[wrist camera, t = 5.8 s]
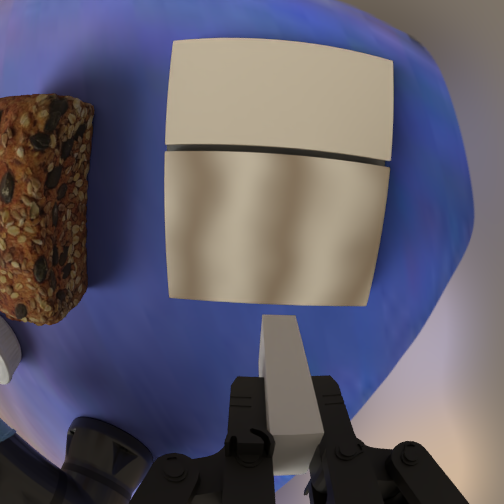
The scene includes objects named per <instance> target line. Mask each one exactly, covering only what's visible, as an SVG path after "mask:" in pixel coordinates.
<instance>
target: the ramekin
mask: <svg viewBox="0 0 504 504" xmlns="http://www.w3.org/2000/svg"><path fill="white" fill-rule="evenodd" d="M20 361H21V348H20V344H19V342H18V339H17V337H16V335H15V334H14V332H13V330H12V329H11V327H10V326H9V325H8V323H7V322H6V321H5V320H4V319H3V318H2V317H1V316H0V384H8V383H9V382H10V381H11V379H12V375H13V374H14V372H15V370H16V368H17V367H18V365H19V363H20Z"/></svg>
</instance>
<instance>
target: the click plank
mask: <svg viewBox="0 0 504 504" xmlns="http://www.w3.org/2000/svg"><path fill="white" fill-rule="evenodd" d="M389 174H390V168H389V167H383V166H377V165H371V164H365V163H358V162H351V161H343V160H335V159H327V158H318V157H308V156H297V155H285V154H271V153H254V152H228V151H165V176H164V193H165V236H166V258H167V274H168V288H169V298H179V299H192V300H205V301H220V302H236V303H256V304H279V305H313V306H366V305H367V301H368V297H369V293H370V289H371V284H372V280H373V275H374V270H375V266H376V261H377V255H378V250H379V245H380V239H381V233H382V227H383V221H384V214H385V207H386V200H387V192H388V183H389Z"/></svg>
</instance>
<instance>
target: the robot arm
mask: <svg viewBox="0 0 504 504" xmlns="http://www.w3.org/2000/svg"><path fill="white" fill-rule="evenodd" d="M224 444H225V445H224V447H223V448H222V449H221V450H220V451H219V452H218V453H216V454H214V455H211V456H208V457H202V458H196V459H191V458H189V457H187V456H186V455H183V454H178V453H171V454H165V455H163V456H161V457H159V458H158V459H157V460H156V461H155V462H154V463H153V464H152V462H153V457H152V454H151V453H150V451H149V450H148V449H147V448H146V447H145V446H144V445H143V444H142V443H141V442H139V441H138V440H137V439H135V438H134V437H132V436H131V435H129V434H127V433H126V432H124V431H122V430H120V429H118V428H116V427H114V426H112V425H110V424H107V423H105V422H102V421H99V420H96V419H92V418H85V417H80V418H76V419H74V420H73V422H72V424H71V425H70V427H69V429H68V434H67V443H66V455H65V461H64V464H63V466H62V468H61V469H60V468H58V467H57V466H56V465H54V464H53V463H52V462H50V461H49V460H48V459H46V458H45V457H44V456H42V455H41V454H40V453H39V452H37V451H36V450H35V449H34V448H33V447H31V446H30V445H29V444H28V443H27V442H26V441H24V440H23V439H22V438H21V437H20V436H19V435H18V434H17V433H16V431H15V430H14V429H11V428H10V427H9V426H8V425H7V424H6V423H5V422H4V421H3V420H2V419H1V418H0V504H275V489H274V475H297V474H306V473H307V471H308V469H310V476H311V479H310V481H309V483H308V485H307V486H306V488H305V490H304V495H307V494H308V492H309V498H310V504H469V503H468V501H467V500H466V499H465V498H464V496H463V495H462V494H461V493H460V491H459V490H458V489H457V488H456V486H455V485H454V484H453V483H452V481H451V480H450V479H449V478H448V476H447V475H446V474H445V473H444V471H443V470H442V469H441V468H440V467H439V465H438V464H437V463H436V461H435V460H434V459H433V458H432V456H431V455H430V454H429V453H428V451H427V450H426V449H425V448H424V447H423V446H422V445H421V444H419V443H416V442H414V441H405V442H402V443H400V444H398V445H397V446H395V448H394V449H393V450H392V449H380V448H373V447H369V446H366V445H365V444H364V443H363V442H362V441H361V440H359V439H358V438H356V436H355V434H354V431H353V428H352V425H351V422H350V419H349V415H348V412H347V409H346V406H345V404H344V400H343V397H342V396H341V391H340V388H339V385H338V384H337V382H336V381H335V380H334V379H333V378H332V377H331V376H330V375H329V376H311V375H310V371H309V367H308V363H307V359H306V355H305V351H304V347H303V343H302V339H301V335H300V331H299V328H298V324H297V320H296V316H295V315H262V325H261V338H260V350H259V377H241V376H237V378H236V379H235V381H234V382H233V383H232V385H231V393H230V407H229V420H228V433H227V436H226V439H225V442H224ZM142 480H143V481H142ZM140 483H141V484H140ZM139 484H140V486H139V487H138V485H139ZM137 487H138V489H137V490H136V492H135V494H134V495H133V497H132V499H131V496H132V493H133V491H134V490H135V489H136V488H137ZM130 499H131V500H130Z"/></svg>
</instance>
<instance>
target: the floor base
mask: <svg viewBox="0 0 504 504" xmlns="http://www.w3.org/2000/svg"><path fill="white" fill-rule="evenodd" d="M393 102H394V85H393V61H391V60H388V59H384V58H380V57H377V56H373V55H369V54H365V53H360V52H356V51H351V50H346V49H341V48H336V47H331V46H325V45H318V44H311V43H304V42H295V41H286V40H274V39H256V38H207V39H190V40H178V41H173V47H172V56H171V65H170V75H169V86H168V99H167V114H166V134H165V144H166V145H167V151H228V152H254V153H271V154H285V155H297V156H308V157H318V158H327V159H335V160H343V161H351V162H358V163H365V164H371V165H377V166H383V167H385V160H386V161H391V150H392V134H393Z"/></svg>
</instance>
